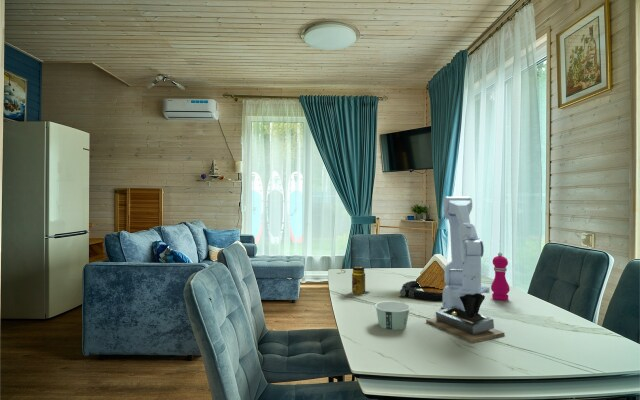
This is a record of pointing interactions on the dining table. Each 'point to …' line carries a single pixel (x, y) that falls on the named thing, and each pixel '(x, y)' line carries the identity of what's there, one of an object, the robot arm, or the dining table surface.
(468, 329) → the grey shallow tray
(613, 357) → the dining table surface
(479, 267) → the robot arm
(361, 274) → the condiment
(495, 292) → the pepper mill
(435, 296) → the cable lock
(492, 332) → the board
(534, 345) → the dining table surface
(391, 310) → the food container
